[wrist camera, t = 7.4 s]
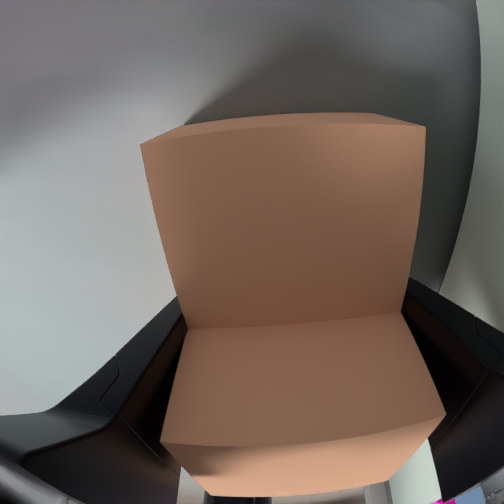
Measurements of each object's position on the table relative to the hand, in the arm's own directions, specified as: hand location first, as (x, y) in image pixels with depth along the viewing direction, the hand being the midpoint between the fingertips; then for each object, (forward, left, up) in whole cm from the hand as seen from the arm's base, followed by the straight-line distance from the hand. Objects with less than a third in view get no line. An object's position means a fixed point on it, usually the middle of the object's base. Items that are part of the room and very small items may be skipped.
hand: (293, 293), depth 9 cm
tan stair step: (0, 0, -2) cm, 2 cm away
